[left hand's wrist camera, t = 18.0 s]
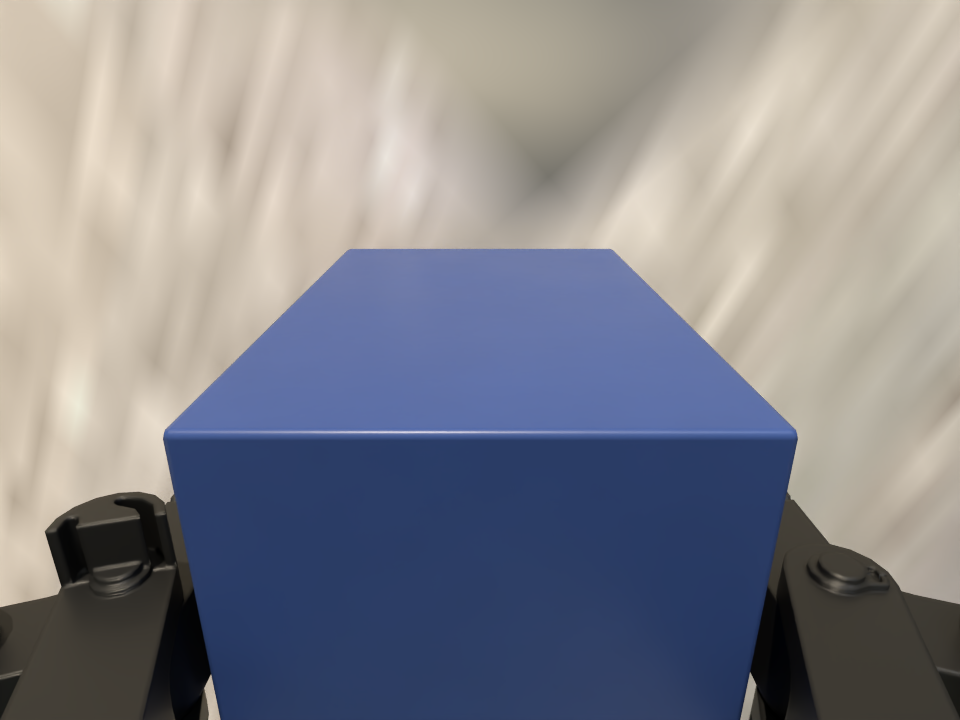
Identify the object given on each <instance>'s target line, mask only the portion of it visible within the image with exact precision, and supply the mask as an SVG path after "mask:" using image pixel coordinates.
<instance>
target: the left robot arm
mask: <svg viewBox="0 0 960 720" xmlns="http://www.w3.org/2000/svg"><path fill="white" fill-rule="evenodd" d="M45 534H46V537H47V540H48V544H49V547H50V550H51V554H52V557H53V560H54V564H55V567H56V570H57V573H58V577H59V580H60V583H61V589H60V591H59V593H58V595H54V596H51V597H47V598H42V599H37V600H33V601H28V602H23V603H18V604H14V605H9V606H4V607H0V720H208V716H209V712H208V705H207V699H206V694H205V689H204V687H205V685H206V683H207V681H208V679H209V677H210V675H211V670H210V665H209V660H208V655H207V650H206V646H205V641H204V636H203V631H202V626H201V621H200V616H199V611H198V607H197V602H196V597H195V592H194V587H193V582H192V577H191V572H190V568H189V563H188V558H187V553H186V548H185V543H184V538H183V533H182V529H181V524H180V519H179V514H178V509H177V504H176V499H175V494H174V495H173V496H172V497H171V501H170V502H167V503H166V505H165V503H164V502H163V501H162V500H161V499H159V498H158V497H157V496H155V495H152V494H147V493H142V492H128V493H116V494H112V495H108V496H104V497H99V498H95V499H93V500H91V501H88V502H86V503H83V504H81V505H78V506H76V507H74V508H72V509H71V510H69V511H67V512H66V513H64V514H63V515H61V516H60V517H58V518H57V519H56V520H55V521H54V522H53V523H52V524H51V525H50V526H49V527H48V528H47V530H46V531H45ZM750 672H751V674H752V676H753V678H754V681H755V683H756V689H755V694H754V699H753V703H752V708H751V713H750V717H749V720H960V604H955V603H950V602H946V601H941V600H936V599H931V598H927V597H922V596H917V595H913V594H909V593H906V592H902V591H901V590H900V588H899V586H898V584H897V583H896V582H895V580H894V579H893V578H892V576H891V575H890V574H889V572H887V571H886V570H885V569H883V568H882V567H881V566H879V565H878V564H877V563H875V562H874V561H873V560H871V559H869V558H867V557H865V556H863V555H861V554H859V553H856V552H854V551H852V550H850V549H846V548H842V547H838V546H835V545H831V544H829V543H828V541H827V540H826V539H825V538H824V536H823V535H822V534H821V533H820V532H819V530H818V529H817V528H816V527H815V525H814V524H813V523H812V522H811V521H810V519H809V518H808V517H807V516H806V514H805V513H804V512H803V511H802V510H801V508H800V507H799V506H798V505H797V503H796V502H795V501H794V500H791V498H790V495H789V494H788V492H787V494H786V498H785V503H784V508H783V513H782V518H781V523H780V528H779V533H778V537H777V542H776V547H775V552H774V557H773V562H772V567H771V572H770V576H769V581H768V586H767V591H766V596H765V601H764V606H763V611H762V615H761V620H760V625H759V630H758V635H757V640H756V645H755V650H754V654H753V659H752V664H751V669H750Z"/></svg>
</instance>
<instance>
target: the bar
mask: <svg viewBox="0 0 960 720" xmlns="http://www.w3.org/2000/svg"><path fill="white" fill-rule="evenodd" d="M797 440H798V438H797V433H796V430H795V429H794V428H793V427H792V426H791V425H790V424H789V423H788V422H787V421H786V420H785V419H784V418H783V417H782V416H781V415H780V414H779V413H778V412H777V411H776V410H775V409H774V408H773V407H772V406H771V405H770V404H769V403H768V402H767V401H766V400H765V399H764V398H763V397H762V396H761V395H760V394H759V393H758V392H757V391H756V390H754V389H753V388H752V387H751V386H750V385H749V384H748V383H747V382H746V381H745V380H744V379H743V378H742V377H741V376H740V375H739V374H738V373H737V372H736V371H735V370H734V369H733V368H732V367H731V366H730V365H729V364H728V363H727V362H726V361H725V360H724V359H723V358H722V357H721V356H720V355H719V354H718V353H717V352H716V351H715V350H714V349H713V348H712V347H711V346H710V345H709V344H708V343H707V342H706V341H705V340H704V339H703V338H702V337H701V336H700V335H699V334H698V333H697V332H695V331H694V330H693V329H692V328H691V327H690V326H689V325H688V324H687V323H686V322H685V321H684V320H683V319H682V318H681V317H680V316H679V315H678V314H677V313H676V312H675V311H674V310H673V309H672V308H671V307H670V306H669V305H668V304H667V303H666V302H665V301H664V300H663V299H662V298H661V297H660V296H659V295H658V294H657V293H656V292H655V291H654V290H653V289H652V288H651V287H650V286H649V285H648V284H647V283H646V282H645V281H644V280H643V279H642V278H641V277H640V276H639V275H637V274H636V273H635V272H634V271H633V270H632V269H631V268H630V267H629V266H628V265H627V264H626V263H625V262H624V261H623V260H622V259H621V258H620V257H619V256H618V255H617V254H616V253H615V252H614V251H613V250H611V249H350V250H348V251H347V252H346V253H345V254H344V255H343V256H342V257H340V258H339V259H338V260H337V261H336V262H335V263H334V264H333V265H332V266H331V267H330V268H329V269H328V270H327V271H326V272H325V273H324V274H323V275H322V276H321V277H320V278H319V279H318V280H317V281H316V282H315V283H314V284H313V285H312V286H311V287H310V288H309V289H308V290H307V291H306V292H305V293H304V294H303V295H302V296H301V297H300V298H299V299H298V300H297V301H296V302H295V303H294V304H293V305H292V306H291V307H290V308H289V309H288V310H287V311H286V312H285V313H284V314H283V315H282V316H281V317H279V318H278V319H277V320H276V321H275V322H274V323H273V324H272V325H271V326H270V327H269V328H268V329H267V330H266V331H265V332H264V333H263V334H262V335H261V336H260V337H259V338H258V339H257V340H256V341H255V342H254V343H253V344H252V345H251V346H250V347H249V348H248V349H247V350H246V351H245V352H244V353H243V354H242V355H241V356H240V357H239V358H238V359H237V360H236V361H235V362H234V363H233V364H232V365H231V366H230V367H229V368H228V369H227V370H226V371H225V372H224V373H223V374H222V375H221V376H220V377H218V378H217V379H216V380H215V381H214V382H213V383H212V384H211V385H210V386H209V387H208V388H207V389H206V390H205V391H204V392H203V393H202V394H201V395H200V396H199V397H198V398H197V399H196V400H195V401H194V402H193V403H192V404H191V405H190V406H189V407H188V408H187V409H186V410H185V411H184V412H183V413H182V414H181V415H180V416H179V417H178V418H177V419H176V420H175V421H174V422H173V423H172V424H171V425H170V426H169V427H168V428H167V429H166V430H165V432H164V437H163V441H164V446H165V451H166V455H167V460H168V465H169V470H170V475H171V480H172V485H173V490H174V494H175V499H176V504H177V509H178V514H179V519H180V524H181V529H182V533H183V538H184V543H185V548H186V553H187V558H188V563H189V568H190V572H191V577H192V582H193V587H194V592H195V597H196V602H197V607H198V611H199V616H200V621H201V626H202V631H203V636H204V641H205V646H206V650H207V655H208V660H209V665H210V670H211V675H212V680H213V685H214V690H215V694H216V699H217V704H218V709H219V714H220V719H221V720H740V718H741V713H742V708H743V703H744V698H745V693H746V689H747V684H748V679H749V674H750V669H751V664H752V659H753V654H754V650H755V645H756V640H757V635H758V630H759V625H760V620H761V615H762V611H763V606H764V601H765V596H766V591H767V586H768V581H769V576H770V572H771V567H772V562H773V557H774V552H775V547H776V542H777V537H778V533H779V528H780V523H781V518H782V513H783V508H784V503H785V498H786V494H787V489H788V484H789V479H790V474H791V469H792V464H793V459H794V455H795V450H796V445H797Z"/></svg>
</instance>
